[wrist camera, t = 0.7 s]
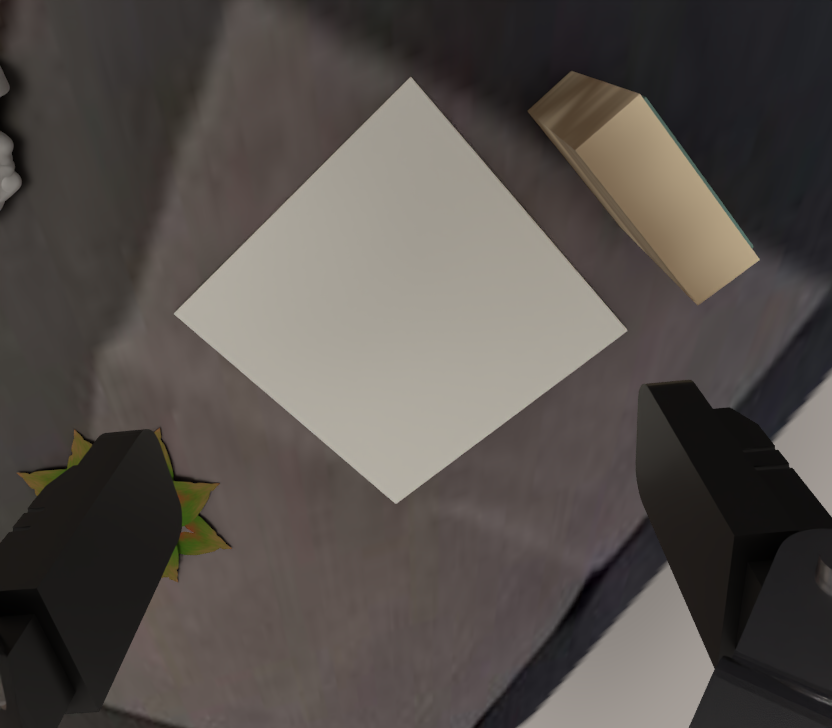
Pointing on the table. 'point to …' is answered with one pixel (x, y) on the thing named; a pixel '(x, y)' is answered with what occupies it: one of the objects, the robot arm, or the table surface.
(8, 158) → the smooth white sculpture
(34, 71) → the table surface
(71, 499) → the robot arm
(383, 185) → the mat
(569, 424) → the table surface
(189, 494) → the lily flower
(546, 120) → the slab
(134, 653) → the table surface
